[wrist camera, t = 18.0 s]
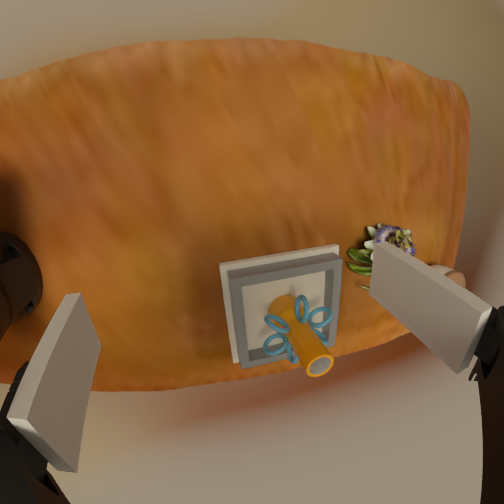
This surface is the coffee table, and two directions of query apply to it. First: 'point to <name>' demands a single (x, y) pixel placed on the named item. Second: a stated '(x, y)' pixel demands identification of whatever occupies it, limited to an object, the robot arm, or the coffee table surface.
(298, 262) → the holder tray
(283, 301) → the orange tube
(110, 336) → the coffee table surface
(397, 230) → the passion flower
